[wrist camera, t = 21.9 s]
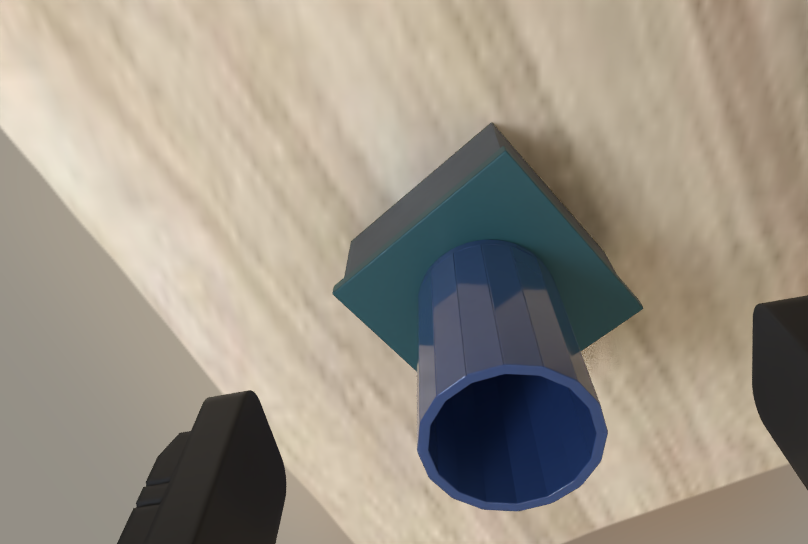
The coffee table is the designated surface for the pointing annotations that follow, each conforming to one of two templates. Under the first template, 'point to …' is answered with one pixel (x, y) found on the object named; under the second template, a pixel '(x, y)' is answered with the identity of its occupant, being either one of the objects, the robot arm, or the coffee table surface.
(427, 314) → the cup
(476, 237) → the container
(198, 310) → the coffee table surface
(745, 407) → the coffee table surface
